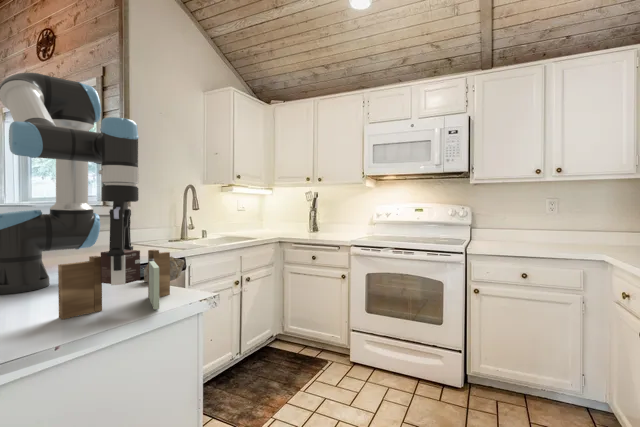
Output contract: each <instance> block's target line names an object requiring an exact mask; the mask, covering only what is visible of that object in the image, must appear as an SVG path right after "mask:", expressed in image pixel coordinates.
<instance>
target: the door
mask: <svg viewBox="0 0 640 427" xmlns="http://www.w3.org/2000/svg"><path fill="white" fill-rule="evenodd" d="M148 301H149V302H150V304H151V306H152V309H153V310H159V309H160V297H159V267H158V265H157V264H156V263H155V262H154V259H149V297H148Z"/></svg>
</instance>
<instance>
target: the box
mask: <svg viewBox="0 0 640 427" xmlns="http://www.w3.org/2000/svg"><path fill="white" fill-rule="evenodd" d="M124 252H125V254H124V255H125V284H124V285H126V284H131V283H134V282H137V281H140V280H141V250H138V249H137V250H136V249H133V250H124ZM107 253H109V250H108V251H101V252H100V257H101V283H102V284H107V285H111V256H107Z"/></svg>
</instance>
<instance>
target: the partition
mask: <svg viewBox="0 0 640 427" xmlns="http://www.w3.org/2000/svg"><path fill="white" fill-rule="evenodd" d="M170 254H171V253H170V252H169V251H164V252H163V251H161V252H160V249H148V250H147V257H148V258H147V265H148V282H147V283H148V284H147V286H148V287H147V288H148V289H147V290H148V291H147V292H148V293H147V295H148V298H149V259H154V262H155V263H156V264H157V265H158V267H159V298H160V297H161V298H162V297H165V296H169V295H171V281H170V257H171V255H170ZM57 275H58V276H57V277H58V278H57V282H58V286H57V287H58V318H59V319H60V318H61V319H60V320H67V319H70V317H71V318H74V316H75V317H79V316H78V315H80V316H84V315H88V314H92V312H93V313H97V312H98V313H99V312H102V311H103V283H101V255H100V256H99V255H93V256H92V255H91V256H88V260H86V261H79V262H78V261H77V262H70V263H61V264H58V265H57ZM83 314H84V315H83ZM66 318H67V319H66Z"/></svg>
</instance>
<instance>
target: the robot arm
mask: <svg viewBox="0 0 640 427" xmlns="http://www.w3.org/2000/svg"><path fill="white" fill-rule="evenodd" d="M0 101H1V103H2V105H3V106H4V107H5V108H6V109H8V110H9V112H10V115H11V118H12V120H13V121H12V122H11V123H10V124H9V128H8V145H9V150H10V152H11V154H13V155H15V156H19V157H28V158H31V159H47V160H49V159H50V160H55V203H54V204H53V205H52V206H50V208H49V213H43V212H42V210H41V209H30V210H27V209H26V210H18V211H10V212H3V213H2V212H1V213H0V295H8V294H19V293H25V292H26V293H27V292H31V291H36V290H41V289H43V288H47V287H49V286H50V276H49V274H48V272H47V269H46V267H45V264H44V262H43V252H52V251H53V252H54V251H64V250H65V251H66V250H80V249H87V248H88V249H89V248H91V247H93V246H95V244H96V243H97V241H98V239H99V235H100V231H101V219H100V218H101V217H100V215H99V214H98V213H96V212H94V207H93V206H91V204H89V163H94V164H95V165H96V164H97V165H101V169H100V170H98V174H99V175H101V182H102V184H104V185H102V186H101V200H102V201H103V202H112V209H109V211H108V213H109V250H108V251H109V253H107V256H111V284H110V286H118V285H119V286H120V285H122V286H123V285H126V284H125V255H124V254H125V252H124V250H134V246H132V242H131V216H132V209H130V208H129V206H128V203H129V202H130V203H132V202H133V203H134V202H138V201H139V187H138V186H137V185H139V182H140V181H139V178H140V177H139V176H140V174H139V139H140V137H139V130H138V124H137V123H136V122H135V121H134V120H132V119H129V118H125V117H124V118H123V117H117V116H114V117H113V116H112V117H111V116H109V117H104V118H102V120H101V124H100V128H99V129H100V132H97V131H91V130H92V129H93V128H94V127H95V124H96V123H98V122H99V121H100V119H101V114H102V106H101V100H100V96H99V93H98V91H97V89H95V88H94V87H93V86H92V85H89V84H86V83H85V84H84V83H81V82H80V81H74V80H69V79H64V78H60V77H56V76H51V75H47V74H43V73H39V72H20V73H15V74H13V75H9V76H8V77H6V78H5V79H4V80H2V82H0Z"/></svg>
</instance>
